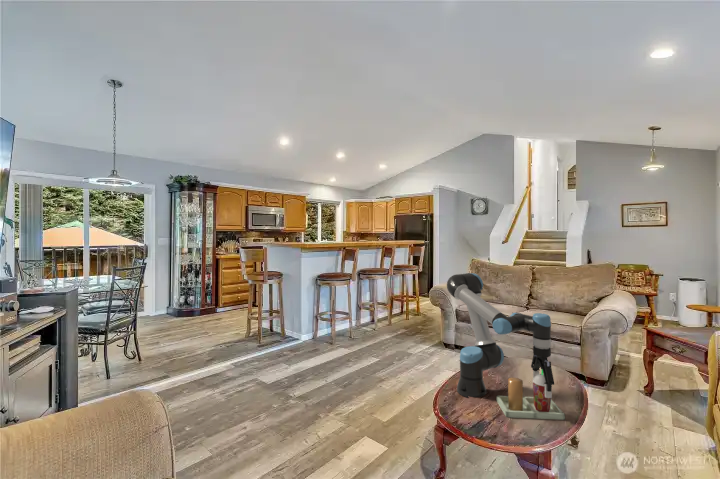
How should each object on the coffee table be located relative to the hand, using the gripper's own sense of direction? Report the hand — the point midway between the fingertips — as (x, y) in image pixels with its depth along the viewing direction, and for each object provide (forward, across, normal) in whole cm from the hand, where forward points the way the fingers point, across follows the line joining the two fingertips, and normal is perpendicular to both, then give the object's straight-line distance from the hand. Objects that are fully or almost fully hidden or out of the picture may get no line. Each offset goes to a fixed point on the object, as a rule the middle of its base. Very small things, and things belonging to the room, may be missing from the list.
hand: (542, 390), depth 161 cm
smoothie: (+10, 0, 0) cm, 10 cm away
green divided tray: (+10, 0, +6) cm, 12 cm away
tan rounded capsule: (+9, 0, +12) cm, 15 cm away
